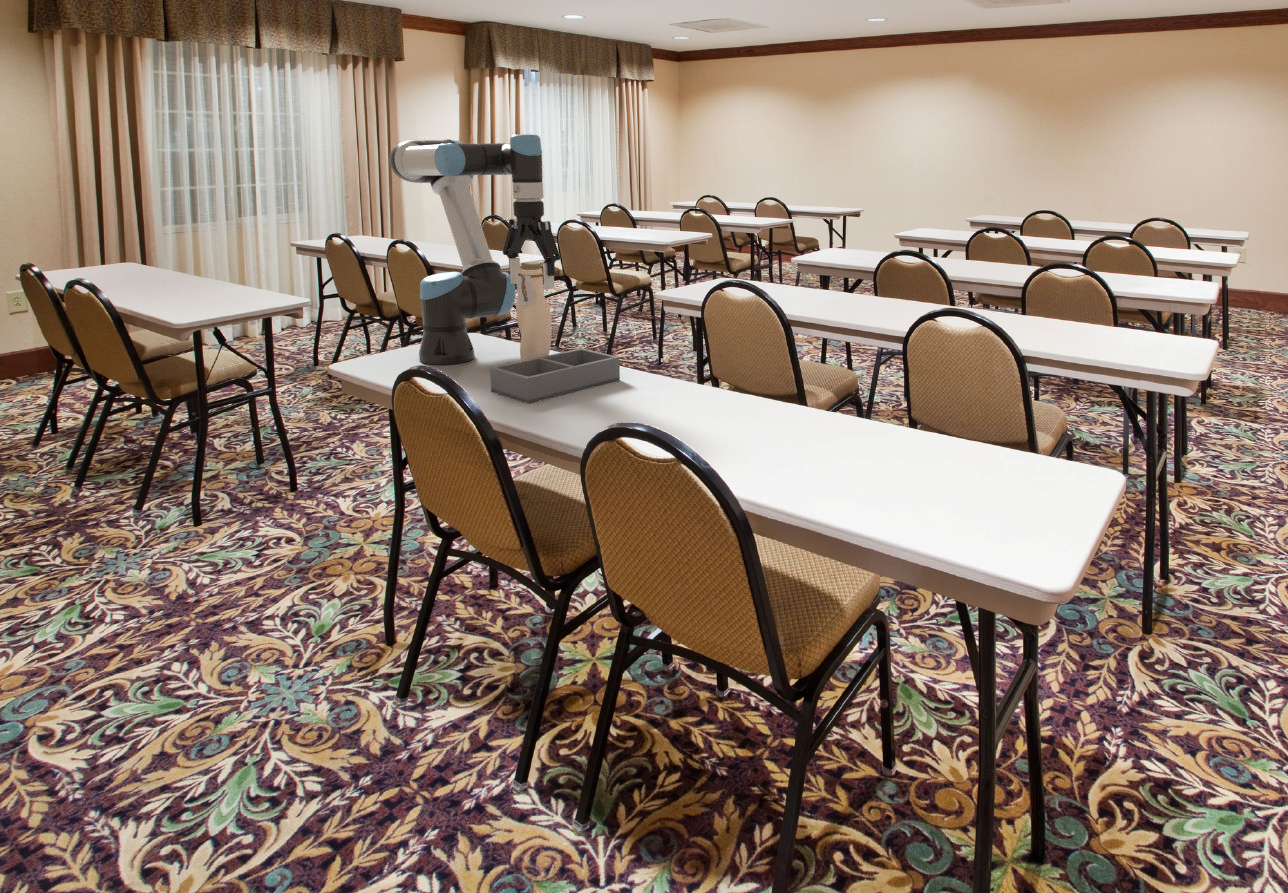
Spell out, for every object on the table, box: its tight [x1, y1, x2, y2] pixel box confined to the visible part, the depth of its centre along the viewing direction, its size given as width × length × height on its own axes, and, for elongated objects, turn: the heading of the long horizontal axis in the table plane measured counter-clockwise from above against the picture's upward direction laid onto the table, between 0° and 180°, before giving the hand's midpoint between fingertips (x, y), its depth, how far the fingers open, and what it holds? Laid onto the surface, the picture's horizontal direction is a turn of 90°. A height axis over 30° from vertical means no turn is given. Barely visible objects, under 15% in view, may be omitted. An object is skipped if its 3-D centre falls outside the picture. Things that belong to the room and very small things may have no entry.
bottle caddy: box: [489, 347, 621, 405], centre depth 210 cm, size 14×30×6 cm, turn 136°
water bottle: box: [515, 261, 552, 361], centre depth 221 cm, size 10×9×28 cm
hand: (532, 286), depth 218 cm, fingers open, 13 cm apart
